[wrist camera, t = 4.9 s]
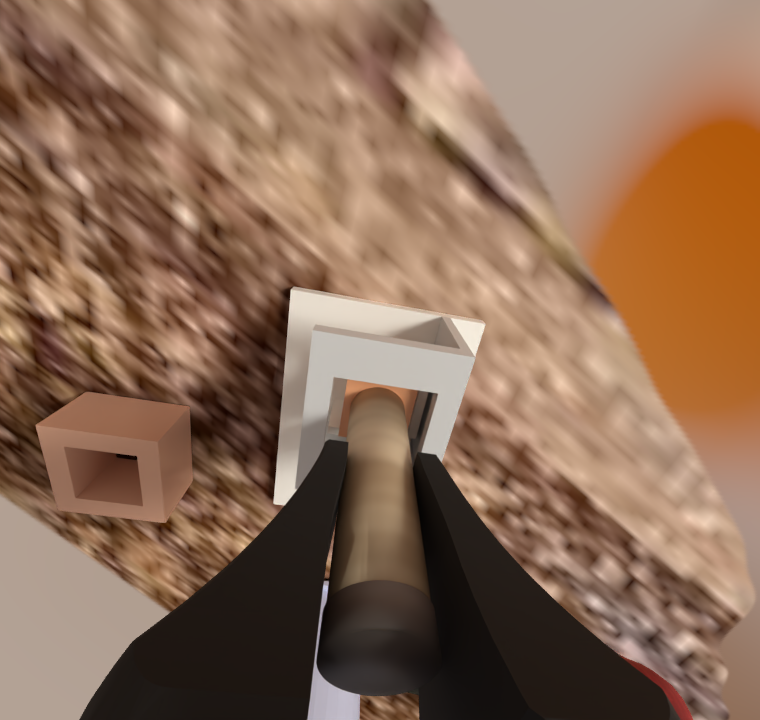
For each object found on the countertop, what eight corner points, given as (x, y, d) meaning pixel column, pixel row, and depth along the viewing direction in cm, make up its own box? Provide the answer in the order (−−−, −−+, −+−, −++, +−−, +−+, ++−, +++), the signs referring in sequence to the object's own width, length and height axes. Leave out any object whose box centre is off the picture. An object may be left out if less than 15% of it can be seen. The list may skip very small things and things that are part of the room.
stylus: (399, 438, 15) (425, 700, 7) (345, 429, 15) (309, 691, 7) (411, 390, 14) (456, 633, 6) (353, 381, 14) (324, 620, 6)
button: (400, 418, 17) (403, 445, 15) (342, 410, 16) (338, 436, 15) (413, 366, 16) (418, 388, 14) (351, 356, 15) (347, 377, 14)
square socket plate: (420, 514, 22) (432, 598, 17) (276, 496, 21) (248, 578, 17) (482, 320, 17) (522, 365, 12) (293, 286, 16) (260, 321, 11)
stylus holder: (193, 480, 21) (165, 522, 18) (100, 468, 20) (57, 510, 18) (189, 406, 19) (157, 441, 16) (86, 391, 18) (35, 425, 15)
